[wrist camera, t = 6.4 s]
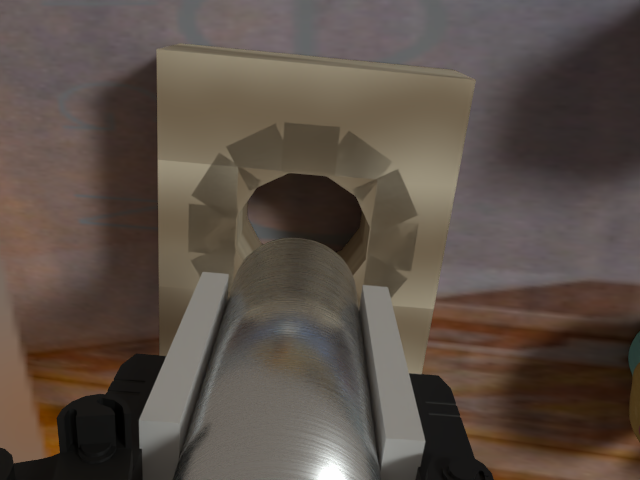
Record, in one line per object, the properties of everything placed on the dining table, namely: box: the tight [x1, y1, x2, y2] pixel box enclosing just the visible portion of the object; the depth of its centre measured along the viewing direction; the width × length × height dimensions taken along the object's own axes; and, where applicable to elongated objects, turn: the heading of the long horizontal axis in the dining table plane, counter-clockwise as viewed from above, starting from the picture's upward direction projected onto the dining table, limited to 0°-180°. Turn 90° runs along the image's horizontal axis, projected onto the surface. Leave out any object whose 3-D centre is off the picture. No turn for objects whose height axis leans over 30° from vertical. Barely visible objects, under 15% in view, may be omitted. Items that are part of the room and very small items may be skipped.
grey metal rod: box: [173, 238, 381, 480], centre depth 14 cm, size 4×4×10 cm
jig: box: [157, 43, 476, 374], centre depth 26 cm, size 14×12×4 cm
